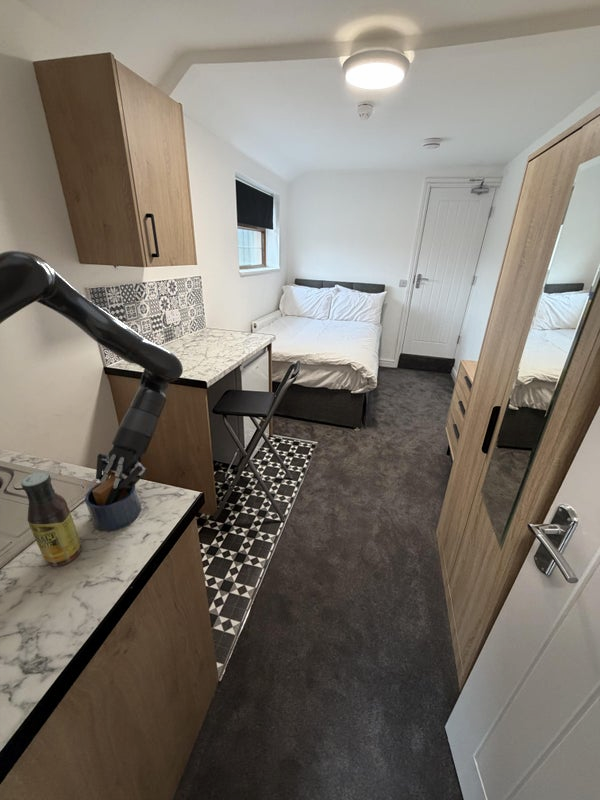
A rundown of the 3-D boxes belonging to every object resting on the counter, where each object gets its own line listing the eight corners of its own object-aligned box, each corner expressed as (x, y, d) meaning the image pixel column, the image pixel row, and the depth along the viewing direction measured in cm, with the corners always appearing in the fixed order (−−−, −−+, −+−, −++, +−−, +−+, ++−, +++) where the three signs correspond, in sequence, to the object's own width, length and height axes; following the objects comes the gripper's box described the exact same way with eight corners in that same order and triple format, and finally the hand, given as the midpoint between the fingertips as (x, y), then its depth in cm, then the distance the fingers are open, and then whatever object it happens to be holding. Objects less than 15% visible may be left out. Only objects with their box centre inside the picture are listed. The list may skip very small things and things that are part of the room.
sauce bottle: (38, 564, 64) (-1, 486, 56) (66, 539, 70) (34, 464, 61) (65, 572, 63) (30, 492, 54) (91, 546, 68) (62, 470, 60)
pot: (83, 529, 72) (74, 505, 69) (110, 498, 81) (103, 475, 78) (126, 533, 71) (118, 509, 68) (149, 500, 80) (143, 478, 77)
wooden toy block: (101, 517, 74) (91, 490, 70) (123, 499, 79) (115, 473, 75) (109, 520, 73) (99, 493, 69) (131, 502, 78) (123, 476, 74)
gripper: (103, 420, 76) (67, 493, 71) (148, 432, 71) (114, 512, 67) (126, 428, 83) (95, 496, 78) (169, 440, 78) (139, 513, 73)
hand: (104, 503), depth 72 cm, fingers closed on wooden toy block, 2 cm apart
